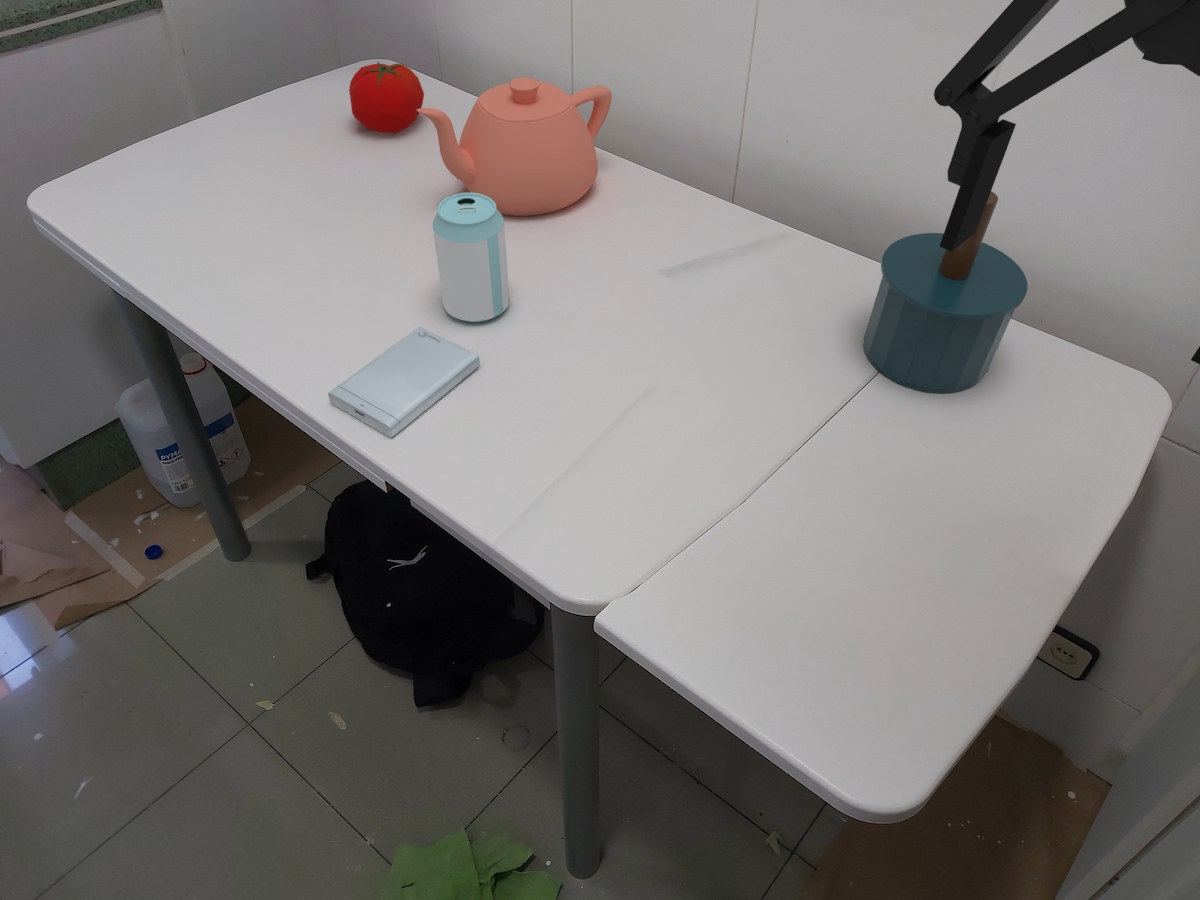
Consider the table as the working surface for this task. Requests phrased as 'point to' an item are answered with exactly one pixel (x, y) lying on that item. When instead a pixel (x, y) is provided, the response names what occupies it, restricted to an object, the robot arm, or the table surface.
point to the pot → (929, 344)
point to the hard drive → (404, 381)
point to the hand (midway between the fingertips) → (1073, 292)
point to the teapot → (525, 145)
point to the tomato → (385, 97)
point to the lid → (955, 274)
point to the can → (471, 257)
